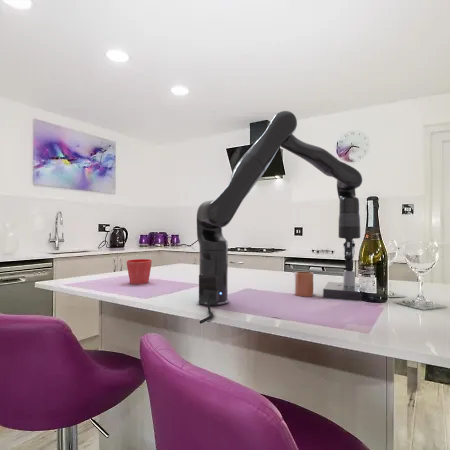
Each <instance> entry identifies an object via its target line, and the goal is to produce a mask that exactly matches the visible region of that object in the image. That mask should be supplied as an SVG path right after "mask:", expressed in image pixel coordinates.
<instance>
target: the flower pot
mask: <svg viewBox="0 0 450 450" xmlns="http://www.w3.org/2000/svg"><path fill="white" fill-rule="evenodd" d="M152 261H153V260H152V259H149V258H148V259H147V258H136V259H128V260H126V268H127V273H128V279H129V283H130V284H131V285H145V284H148V283H149V281H150V276H151V269H152V264H153V263H152Z"/></svg>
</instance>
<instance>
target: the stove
mask: <svg viewBox="0 0 450 450" xmlns="http://www.w3.org/2000/svg"><path fill="white" fill-rule="evenodd" d="M359 284H360V283H355V286H354V287H348V286H344V282H340V281H339V282H338V281H327V283H326V285H325V286H324V288H323V295H322V296H323V298H324V299H334V300H335V299H337V300H348V301H359V302H362V301H361V300H362V295H361V296H360V291H359Z"/></svg>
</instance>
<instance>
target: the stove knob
mask: <svg viewBox="0 0 450 450" xmlns="http://www.w3.org/2000/svg"><path fill="white" fill-rule="evenodd" d="M343 283H344V286H348V287H354V286H355V284H356V270H353V269H352V271H346V270H343Z"/></svg>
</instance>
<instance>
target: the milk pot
mask: <svg viewBox="0 0 450 450" xmlns="http://www.w3.org/2000/svg"><path fill="white" fill-rule="evenodd" d="M294 295H295V296H298V297H303V298H304V297H306V298H307V297H313V296H314V272H312V271H305V270H304V271H302V270H300V271H295V272H294Z"/></svg>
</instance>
